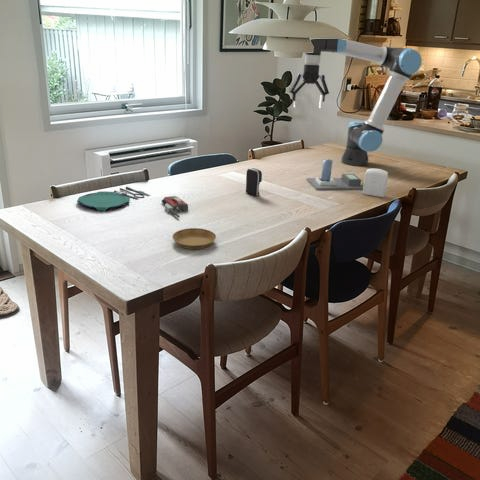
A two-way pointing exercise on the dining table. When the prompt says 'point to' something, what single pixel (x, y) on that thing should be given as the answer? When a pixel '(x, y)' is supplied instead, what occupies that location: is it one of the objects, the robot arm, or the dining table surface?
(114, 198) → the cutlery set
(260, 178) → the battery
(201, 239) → the plant saucer
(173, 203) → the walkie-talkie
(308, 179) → the cell checker
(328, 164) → the cell
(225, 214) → the dining table surface
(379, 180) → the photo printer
